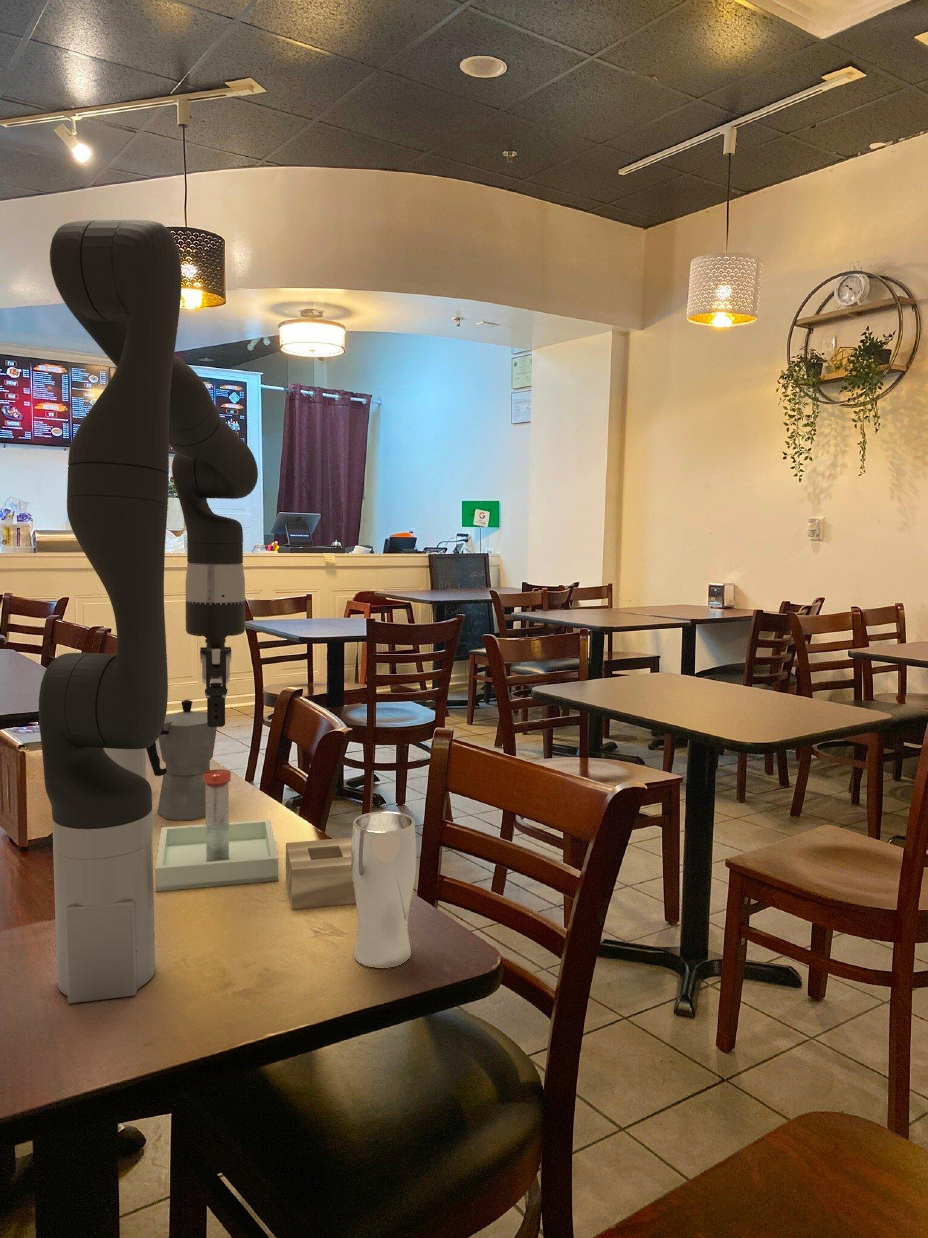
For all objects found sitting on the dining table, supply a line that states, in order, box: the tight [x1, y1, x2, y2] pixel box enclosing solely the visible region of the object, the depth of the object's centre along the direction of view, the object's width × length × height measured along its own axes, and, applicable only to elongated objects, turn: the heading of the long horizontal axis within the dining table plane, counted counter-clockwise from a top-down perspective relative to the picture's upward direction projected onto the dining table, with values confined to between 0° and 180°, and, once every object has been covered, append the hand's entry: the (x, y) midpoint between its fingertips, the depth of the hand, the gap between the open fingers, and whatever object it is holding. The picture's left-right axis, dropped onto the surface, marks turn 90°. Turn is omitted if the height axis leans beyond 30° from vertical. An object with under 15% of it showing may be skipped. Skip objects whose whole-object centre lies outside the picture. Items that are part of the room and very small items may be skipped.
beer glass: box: [351, 810, 417, 968], centre depth 95 cm, size 7×7×15 cm
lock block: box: [285, 837, 356, 910], centre depth 112 cm, size 9×9×5 cm
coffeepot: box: [145, 699, 218, 822], centre depth 138 cm, size 15×9×18 cm, turn 155°
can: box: [103, 748, 147, 780], centre depth 147 cm, size 8×8×12 cm
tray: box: [154, 819, 279, 892], centre depth 120 cm, size 15×15×3 cm
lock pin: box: [203, 768, 232, 862], centre depth 119 cm, size 4×4×12 cm
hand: (216, 719), depth 118 cm, fingers open, 8 cm apart
